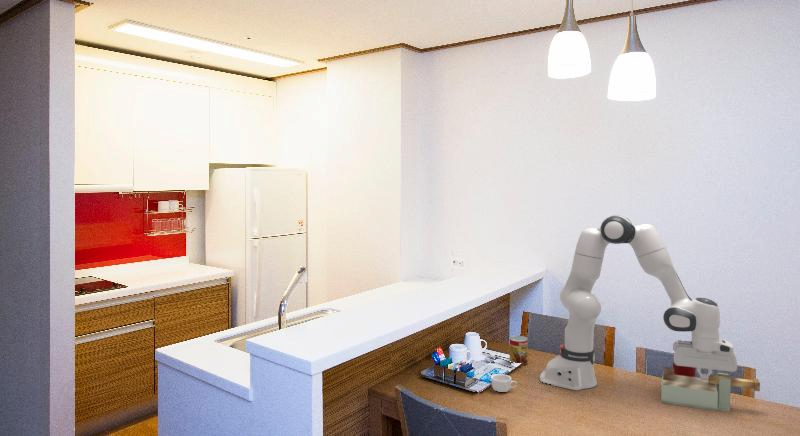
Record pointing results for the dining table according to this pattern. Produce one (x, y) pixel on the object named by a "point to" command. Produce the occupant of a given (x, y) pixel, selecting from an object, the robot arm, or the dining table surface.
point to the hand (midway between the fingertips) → (704, 379)
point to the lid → (686, 381)
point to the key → (737, 382)
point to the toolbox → (699, 396)
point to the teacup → (502, 382)
